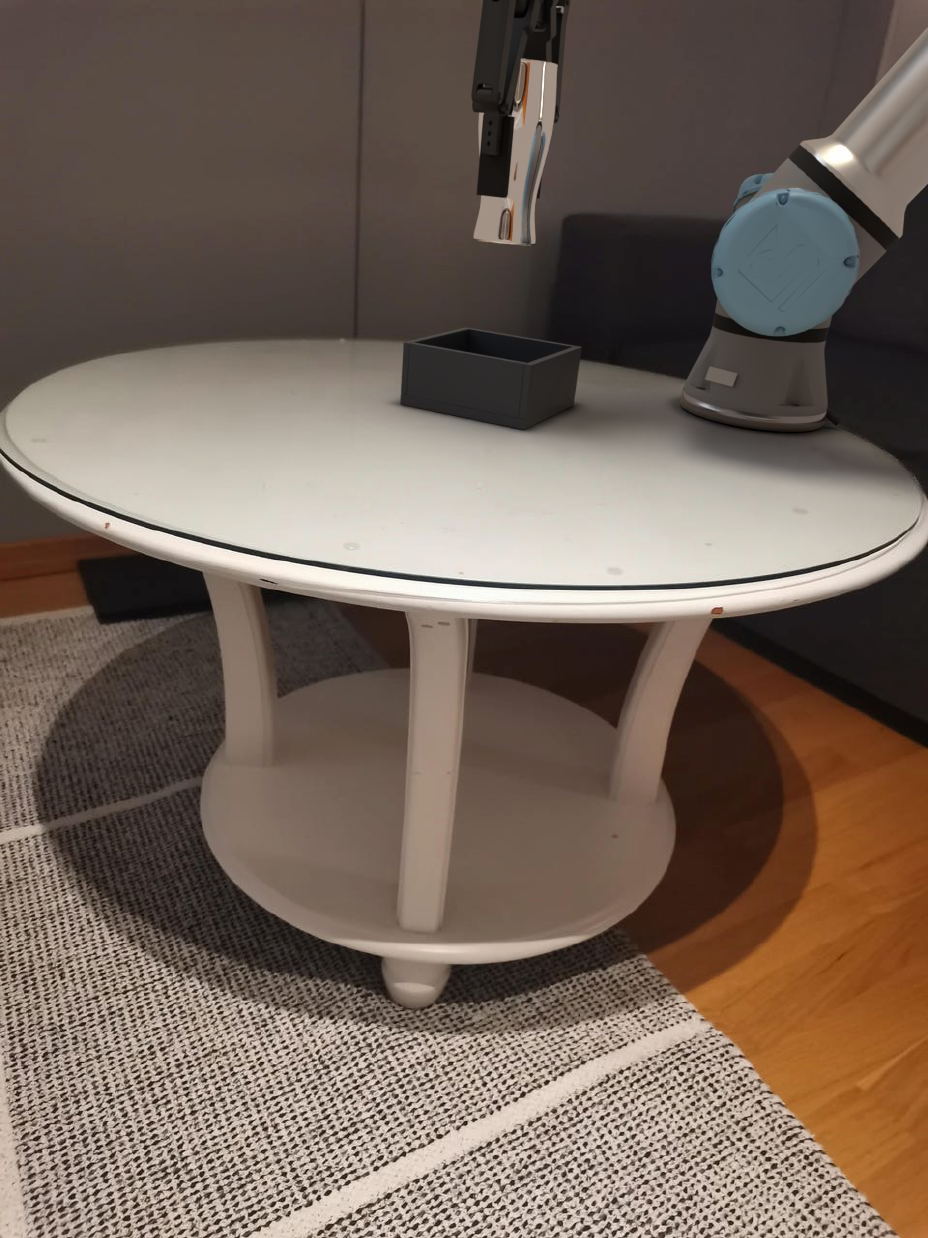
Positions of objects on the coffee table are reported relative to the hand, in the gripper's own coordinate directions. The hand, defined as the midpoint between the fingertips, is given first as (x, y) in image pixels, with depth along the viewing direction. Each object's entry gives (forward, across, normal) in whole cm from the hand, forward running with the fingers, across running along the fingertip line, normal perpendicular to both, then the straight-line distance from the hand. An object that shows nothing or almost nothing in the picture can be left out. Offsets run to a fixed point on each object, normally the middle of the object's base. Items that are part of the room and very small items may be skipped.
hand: (509, 196), depth 88 cm
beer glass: (+4, 0, 0) cm, 4 cm away
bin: (+19, +1, +1) cm, 19 cm away
